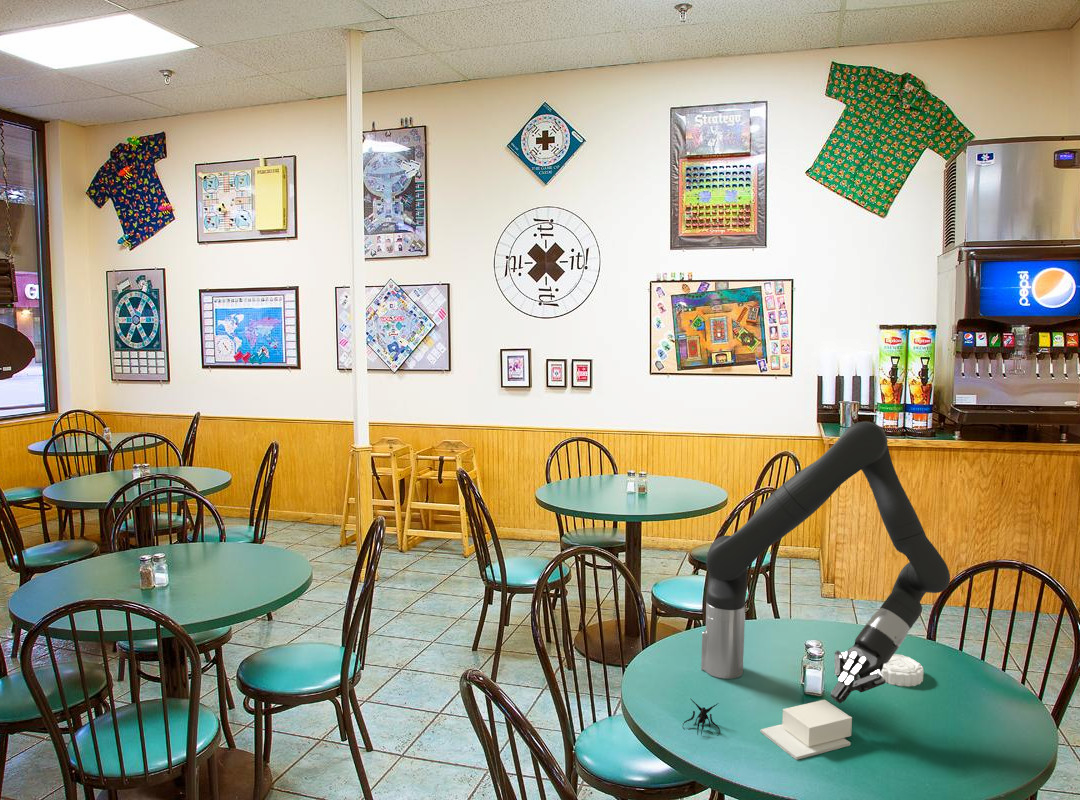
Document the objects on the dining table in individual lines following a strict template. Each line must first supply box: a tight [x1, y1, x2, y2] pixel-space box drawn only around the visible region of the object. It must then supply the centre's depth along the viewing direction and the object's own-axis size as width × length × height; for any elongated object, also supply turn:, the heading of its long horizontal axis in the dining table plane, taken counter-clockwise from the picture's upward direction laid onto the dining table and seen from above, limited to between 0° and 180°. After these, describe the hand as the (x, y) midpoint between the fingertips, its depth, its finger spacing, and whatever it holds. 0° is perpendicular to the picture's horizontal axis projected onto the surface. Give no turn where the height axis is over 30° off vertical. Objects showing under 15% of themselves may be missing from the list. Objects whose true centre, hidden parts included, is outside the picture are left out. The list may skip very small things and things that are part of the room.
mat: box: [760, 723, 851, 761], centre depth 160 cm, size 11×14×1 cm
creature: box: [682, 698, 721, 736], centre depth 164 cm, size 8×5×8 cm
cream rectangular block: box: [781, 699, 853, 747], centre depth 161 cm, size 8×4×11 cm
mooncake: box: [881, 653, 924, 687], centre depth 189 cm, size 12×12×4 cm
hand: (835, 700), depth 163 cm, fingers closed
